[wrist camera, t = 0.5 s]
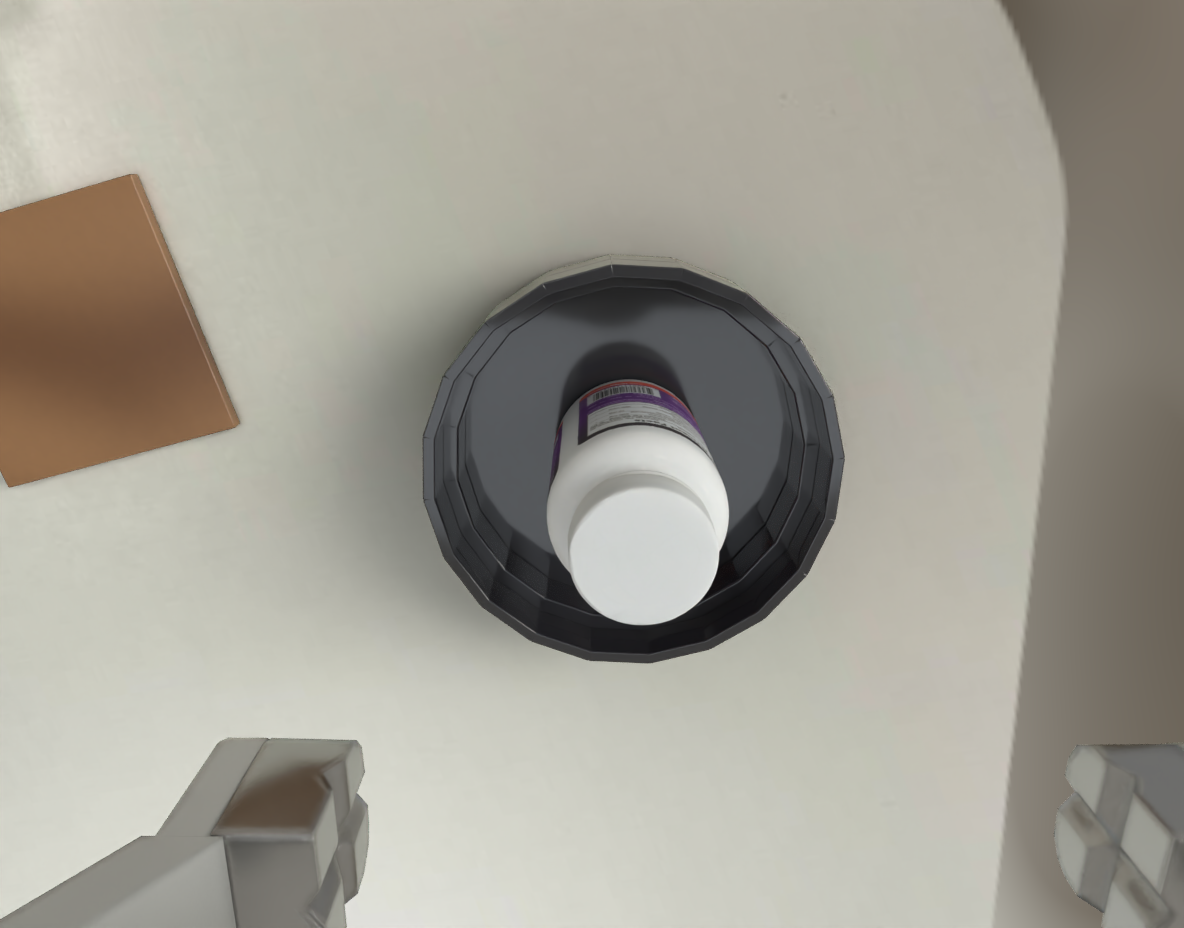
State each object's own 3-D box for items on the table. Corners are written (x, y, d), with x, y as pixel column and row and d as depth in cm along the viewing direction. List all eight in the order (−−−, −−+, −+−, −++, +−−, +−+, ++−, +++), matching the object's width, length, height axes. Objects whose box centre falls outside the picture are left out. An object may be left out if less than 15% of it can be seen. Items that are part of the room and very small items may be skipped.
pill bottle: (641, 542, 33) (660, 685, 24) (525, 462, 32) (499, 578, 23) (731, 433, 32) (789, 539, 22) (614, 345, 31) (624, 419, 21)
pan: (389, 313, 30) (363, 331, 27) (775, 207, 29) (800, 212, 26) (503, 647, 35) (493, 700, 31) (844, 566, 34) (873, 611, 30)
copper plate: (-105, 245, 30) (-116, 246, 29) (137, 173, 29) (130, 174, 29) (16, 483, 32) (8, 488, 32) (240, 423, 32) (235, 427, 31)
